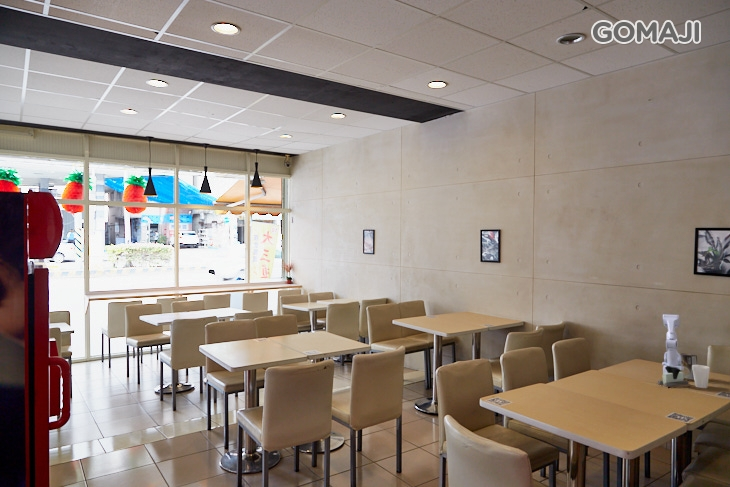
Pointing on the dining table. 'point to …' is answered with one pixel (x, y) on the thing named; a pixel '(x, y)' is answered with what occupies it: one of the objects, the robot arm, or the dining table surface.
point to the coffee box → (688, 365)
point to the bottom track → (674, 384)
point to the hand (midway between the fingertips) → (673, 378)
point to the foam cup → (701, 375)
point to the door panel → (669, 377)
